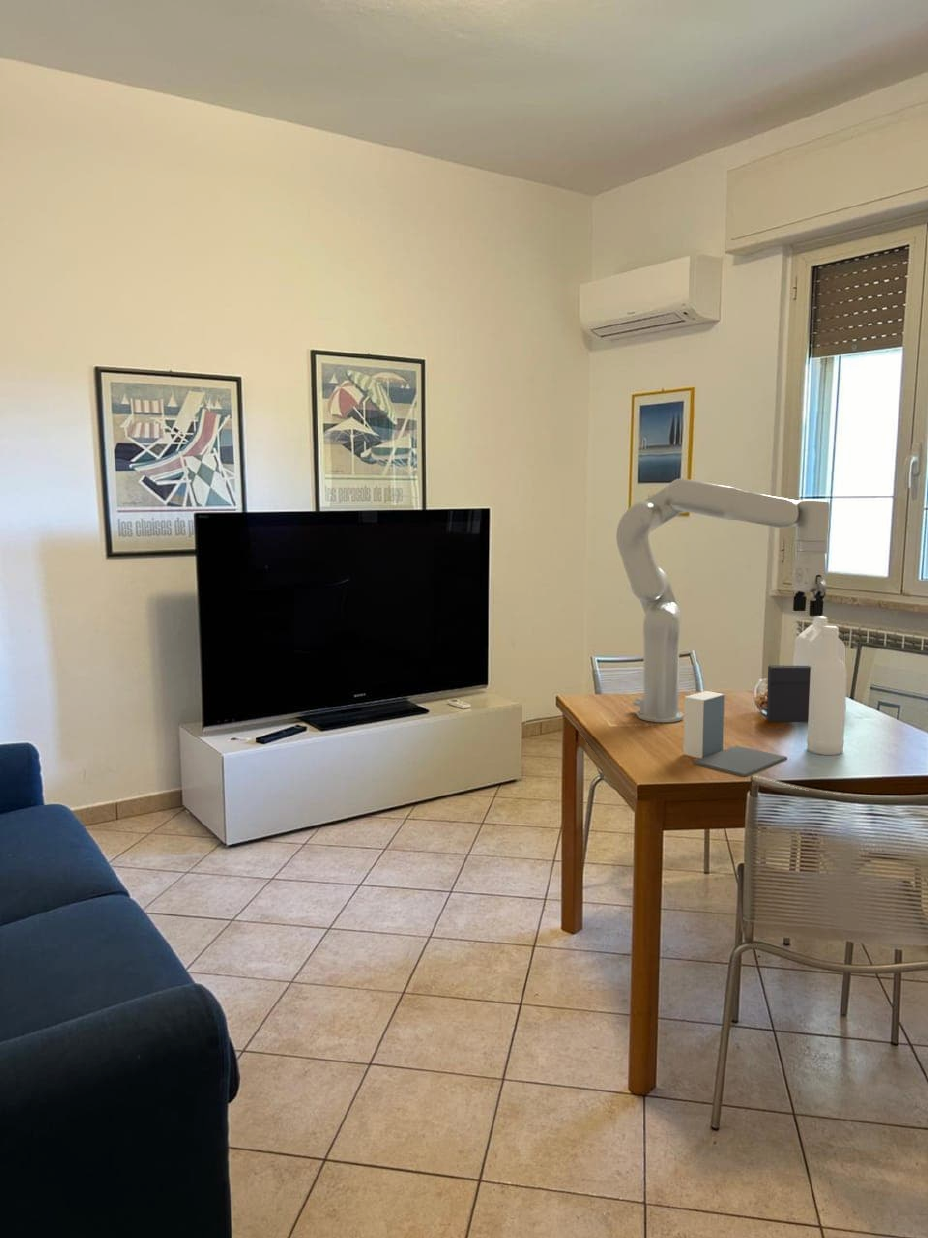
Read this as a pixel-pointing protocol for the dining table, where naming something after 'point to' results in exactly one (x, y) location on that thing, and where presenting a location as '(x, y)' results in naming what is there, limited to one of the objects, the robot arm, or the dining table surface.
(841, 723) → the bottle
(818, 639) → the milk
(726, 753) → the mat
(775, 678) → the dark grey box
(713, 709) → the flip block
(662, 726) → the dining table surface
